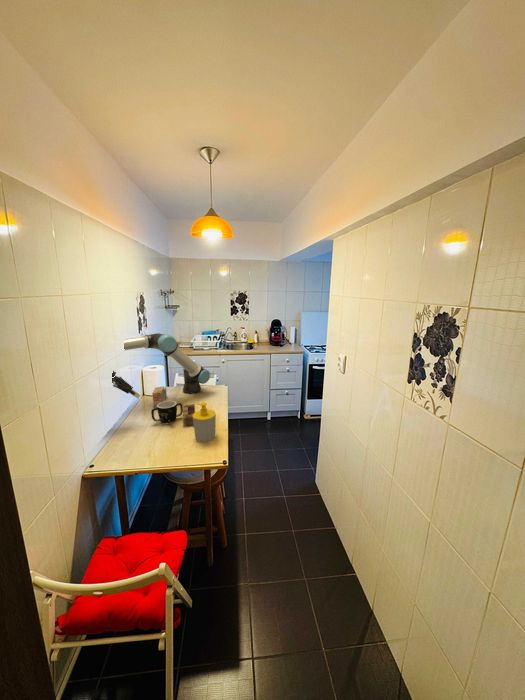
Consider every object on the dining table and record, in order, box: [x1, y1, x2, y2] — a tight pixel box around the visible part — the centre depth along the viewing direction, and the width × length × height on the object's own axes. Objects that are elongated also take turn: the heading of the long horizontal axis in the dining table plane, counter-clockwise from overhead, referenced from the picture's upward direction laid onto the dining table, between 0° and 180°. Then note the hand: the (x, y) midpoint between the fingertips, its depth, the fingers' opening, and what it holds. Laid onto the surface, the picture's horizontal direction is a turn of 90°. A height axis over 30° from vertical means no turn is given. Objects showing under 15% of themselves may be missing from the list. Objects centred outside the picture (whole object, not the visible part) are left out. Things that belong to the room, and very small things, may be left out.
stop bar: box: [182, 404, 196, 428], centre depth 183 cm, size 20×8×6 cm, turn 15°
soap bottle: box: [192, 402, 217, 444], centre depth 158 cm, size 13×13×21 cm
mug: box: [150, 400, 184, 425], centre depth 180 cm, size 16×16×12 cm
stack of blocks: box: [152, 385, 168, 409], centre depth 211 cm, size 21×6×12 cm, turn 11°
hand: (139, 396), depth 175 cm, fingers closed
